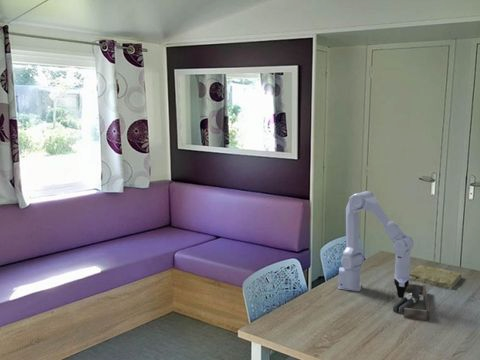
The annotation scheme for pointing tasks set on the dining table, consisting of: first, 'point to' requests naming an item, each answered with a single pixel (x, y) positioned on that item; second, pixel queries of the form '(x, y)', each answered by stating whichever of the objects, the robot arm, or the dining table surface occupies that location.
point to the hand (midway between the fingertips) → (400, 297)
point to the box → (416, 312)
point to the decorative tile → (435, 276)
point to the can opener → (407, 301)
